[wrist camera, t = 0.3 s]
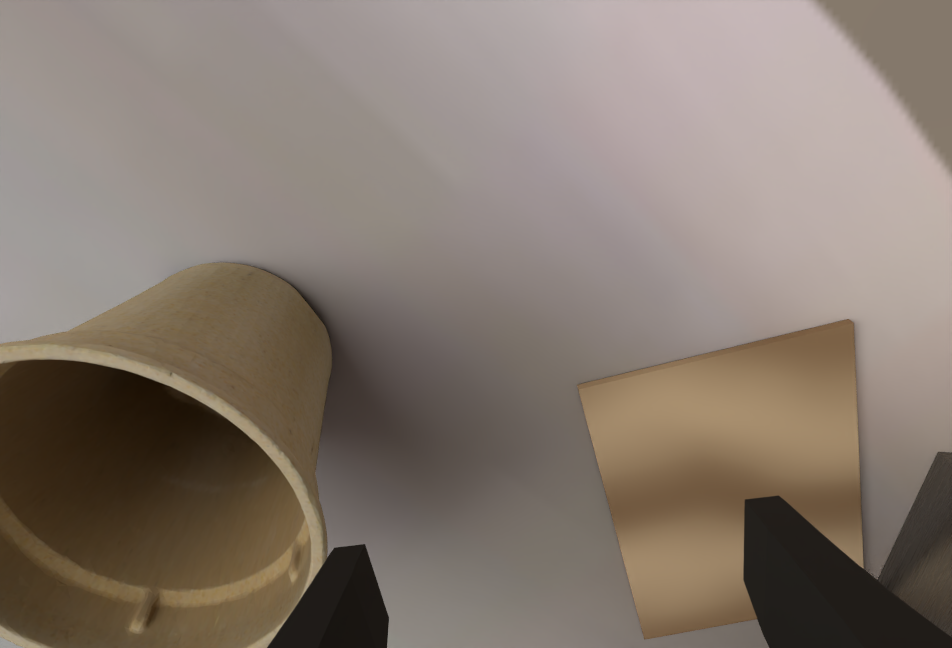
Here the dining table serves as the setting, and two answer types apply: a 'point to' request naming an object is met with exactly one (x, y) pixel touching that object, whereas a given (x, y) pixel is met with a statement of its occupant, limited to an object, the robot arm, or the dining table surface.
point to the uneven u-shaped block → (926, 550)
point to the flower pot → (164, 468)
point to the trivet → (724, 465)
